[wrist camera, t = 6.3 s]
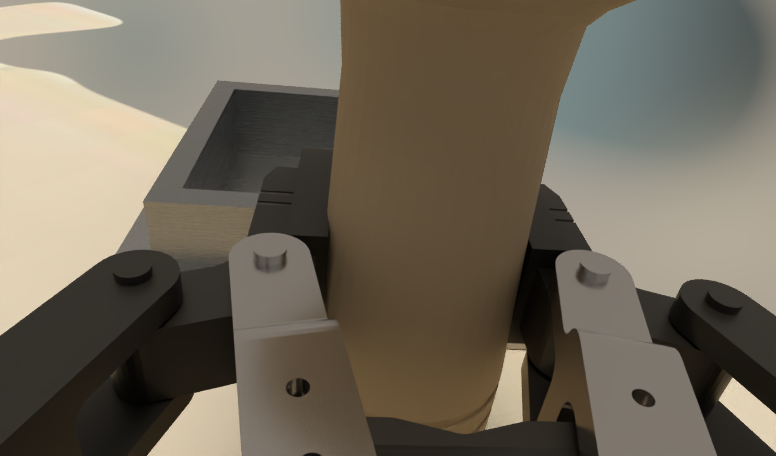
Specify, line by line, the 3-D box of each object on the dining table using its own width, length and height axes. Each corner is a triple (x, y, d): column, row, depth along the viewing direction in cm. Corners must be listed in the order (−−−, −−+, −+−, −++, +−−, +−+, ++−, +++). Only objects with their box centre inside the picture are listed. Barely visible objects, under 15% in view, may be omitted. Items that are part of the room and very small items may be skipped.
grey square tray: (79, 332, 19) (52, 231, 17) (194, 135, 32) (187, 65, 30) (539, 349, 21) (570, 259, 18) (467, 155, 34) (480, 88, 32)
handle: (320, 396, 18) (349, -193, 10) (519, 484, 16) (763, -156, 8) (223, 532, 14) (135, -250, 6) (469, 669, 12) (844, -202, 4)
